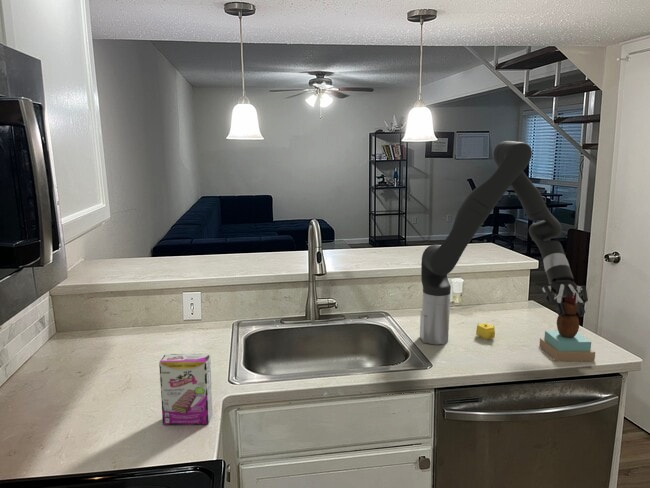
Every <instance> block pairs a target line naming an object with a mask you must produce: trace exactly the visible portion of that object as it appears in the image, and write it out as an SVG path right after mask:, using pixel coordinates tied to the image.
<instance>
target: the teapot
mask: <svg viewBox="0 0 650 488" xmlns="http://www.w3.org/2000/svg"><path fill="white" fill-rule="evenodd" d="M475 329H476V330H475V335H476V336H478V339H479V338H480V339H483V341H487V340H493V339H495V338H496V337H495V336H496V329H495V325H491V324H489V323H477V325H476V328H475Z"/></svg>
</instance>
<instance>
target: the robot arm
mask: <svg viewBox="0 0 650 488" xmlns="http://www.w3.org/2000/svg"><path fill="white" fill-rule="evenodd" d="M495 146H496V147H495V148H494V150H493V160H494V162H495V164H496V166H497V167H498V168H497V169H496V171H495V172H494V173H493V174H492V175H491V176H490V177H489V178H487V179H486V180H485V181H484V182H482V183H481V184H479V185H478V186H476V187H475V188H474V189H473V190H472V191H471V192H470V193H469V194H468V195H467V197H466V198H465V199H464V201H463V202H462V203H461V205H460V207H459V208H458V209H457V213H456V215H455V217H454V222H453V225H452V227H451V230H450V232H449V234H448V236H447V237H446V238H445V239H444V241H443V242H442V243H441V245H440V244H430V245H429V246H428V247H426V248H424V251H423V253H422V255H421V263H420V264H421V265H420V266H421V270H420V271H421V273H420V274H421V278H420V280H421V284H422V308H421V311H420V319H419V320H420V321H419V338H420V340H421V341H422V343H423V344H430V345H436V346H437V345H438V346H439V345H444V344H447V343H448V342H449V335H450V334H449V329H450V312H451V311H450V309H451V290H452V287H451V284H450V281H449V278H448V274H450V273H451V272H452V271H453V270H454V268H455V267H456V266H457V264H458V262H459V261H460V259H461V257H462V254H463V252H464V251H465V249H466V248H467V246H468V245H469V243H470V242H471V240H472V239H473V238H474V237H475V235H476V233H477V232H478V231H479V229H480V228H481V227H482V225H483V224H484V222H485V221H486V220H487V218H488V217H489V216H490V215H491V213H492V211H493V210H494V208H495V206H497V204H498V203H499V201H500V200H501V199H502V197H503V196H504V195H505V193H506V191H507V190H508V189H509V187H510V186H511V187H512V189H513V191H514V193H515V194H516V196H517V198H518V200H519V201H520V204H521V207H522V208H523V211H524V213H525V215H526V217H527V219H528V220H530V221H532V222H533V221H537V222H534V223H532V224H530V226H529V228H528V234H529V236H530V238H531V239H532V241H533V242H534V243H535V244H536V246H537V247H538V249H539V252H540V254H541V258H542V261H543V267H544V271H545V274H546V277H547V281H548V284H549V285H547V284H545V285H543V287H542V288H541V292H542V294H543V296H544V298H545V299H546V302H547V304H548V305H549V306H551V305H552V306H554V307H555V310H556V313H557V315H558V316H559V315H560V317H563V316H564V315H565V312H564V309H563V306H562V303H563V302H562V299H563V298H566V297H568V295H571V293H572V295H573V297H574V295H575V293H576V304H577V308H578V309H577V313H578V318H580V317H584V315H585V313H586V309H585V307H584V305H585V304H587V302H588V301H589V300H588V299H589V298H588V290H587V286H586V285H584V284H583V285H581V286H580V285H577V284H576V283H575V281H574V275H573V273H572V270H571V267H570V263H569V260H568V259H567V257H566V254H565V252H564V248H563V245H562V244H561V242H560V241H559V240H553V239H555V238H558V237H559V236H561V235H562V232H563V227H562V224H561V223H560V221H559V220H558V219H557V218H556V217H555V216H554V215H553V214H552V213H551V211H550V210H549V208H548V207H547V205H546V202H545V200H544V198H543V195H542V194H541V192H540V190H539V189H538V188H537V187H536V185H535V184H534V183H533V182H532V180H530V179H529V177H528V176H527V174H526V173H525V172H524V170H525V169H526V168H527V166H529V163H530V162H531V160H532V155H533V151H532V147H531V146H530V144H528V143H525V142H523V141H512V140H506V141H505V140H504V141H501V142H499V143H498V144H497V145H495ZM551 239H552V240H551ZM552 292H553V294H554V295H553V294H552ZM561 302H562V303H561Z"/></svg>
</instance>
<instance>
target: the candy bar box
mask: <svg viewBox="0 0 650 488" xmlns="http://www.w3.org/2000/svg"><path fill="white" fill-rule="evenodd" d="M158 364H159V377H160V378H159V380H160V381H159V382H160V393H161V394H160V395H161V397H160V398H161V399H160V401H161V412H162V413H161V414H162V415H161V416H162V425H163V426H168V425H169V426H173V425H174V426H176V425H177V426H178V425H179V426H181V425H182V426H183V425H184V426H185V425H186V426H188V425H209V424H210V421H211V418H212V416H213V395H212V394H213V393H212V368H211V367H212V366H211V354H210V353H164V355H163V356H162V358H161V359H160V360H159V363H158Z"/></svg>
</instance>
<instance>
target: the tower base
mask: <svg viewBox="0 0 650 488" xmlns="http://www.w3.org/2000/svg"><path fill="white" fill-rule="evenodd" d="M538 346H539V347H540V349H542V350H543V351H544V352H545V353H546V354H547V355H548V356H549V357H551V358H552V360H554V361H555V362H595V358H596V352H595V350H593V349H592V341H591V340H590V339H588V338H586V337H585V336H584V335H582V334H581V333H579V331H578V332H577V334H576V335H575V336H574V337H572V338H567V337H563V336H561V335H560V334H559V332H558V330H544V337H540V338H539V345H538Z"/></svg>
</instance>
